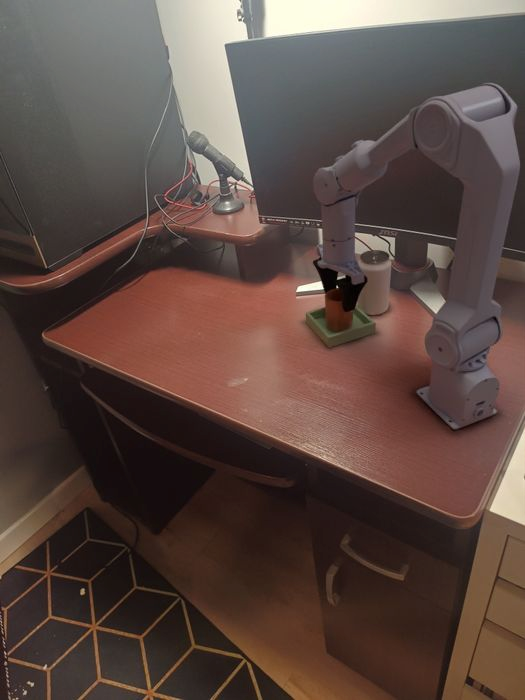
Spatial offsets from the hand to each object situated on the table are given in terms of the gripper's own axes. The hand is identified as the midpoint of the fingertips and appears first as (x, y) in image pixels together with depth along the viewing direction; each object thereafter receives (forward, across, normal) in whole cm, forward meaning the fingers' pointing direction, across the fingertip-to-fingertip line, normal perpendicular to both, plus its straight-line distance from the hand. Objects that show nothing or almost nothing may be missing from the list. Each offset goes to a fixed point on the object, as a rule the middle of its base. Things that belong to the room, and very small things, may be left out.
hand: (339, 301), depth 90 cm
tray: (+6, 0, 0) cm, 6 cm away
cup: (+6, 0, 0) cm, 6 cm away
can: (+6, -3, +10) cm, 12 cm away
